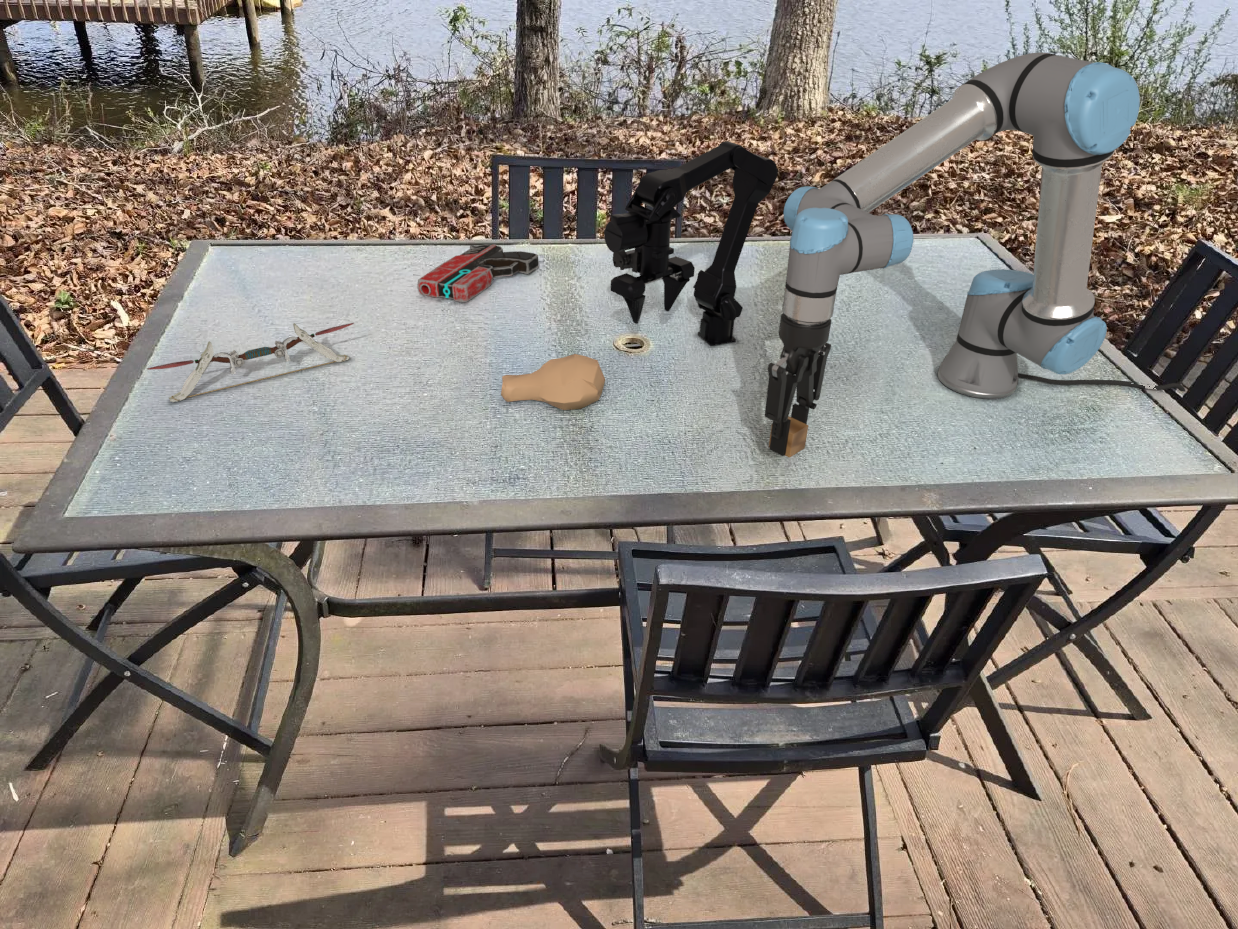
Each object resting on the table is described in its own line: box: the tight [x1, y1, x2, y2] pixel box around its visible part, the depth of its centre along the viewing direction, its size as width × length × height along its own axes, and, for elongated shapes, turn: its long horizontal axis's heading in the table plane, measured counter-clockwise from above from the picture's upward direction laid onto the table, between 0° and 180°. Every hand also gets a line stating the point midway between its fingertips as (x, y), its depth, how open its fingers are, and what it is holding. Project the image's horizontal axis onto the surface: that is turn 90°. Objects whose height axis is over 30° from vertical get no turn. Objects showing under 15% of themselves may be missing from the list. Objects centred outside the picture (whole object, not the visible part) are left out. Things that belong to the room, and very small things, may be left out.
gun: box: [416, 243, 540, 303], centre depth 216 cm, size 4×31×19 cm
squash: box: [500, 353, 606, 411], centre depth 166 cm, size 11×20×9 cm, turn 90°
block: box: [768, 415, 810, 458], centre depth 143 cm, size 4×4×4 cm
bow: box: [146, 322, 355, 403], centre depth 169 cm, size 39×2×10 cm, turn 124°
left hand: (651, 316), depth 179 cm, fingers open, 9 cm apart
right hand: (786, 446), depth 144 cm, fingers closed on block, 4 cm apart
